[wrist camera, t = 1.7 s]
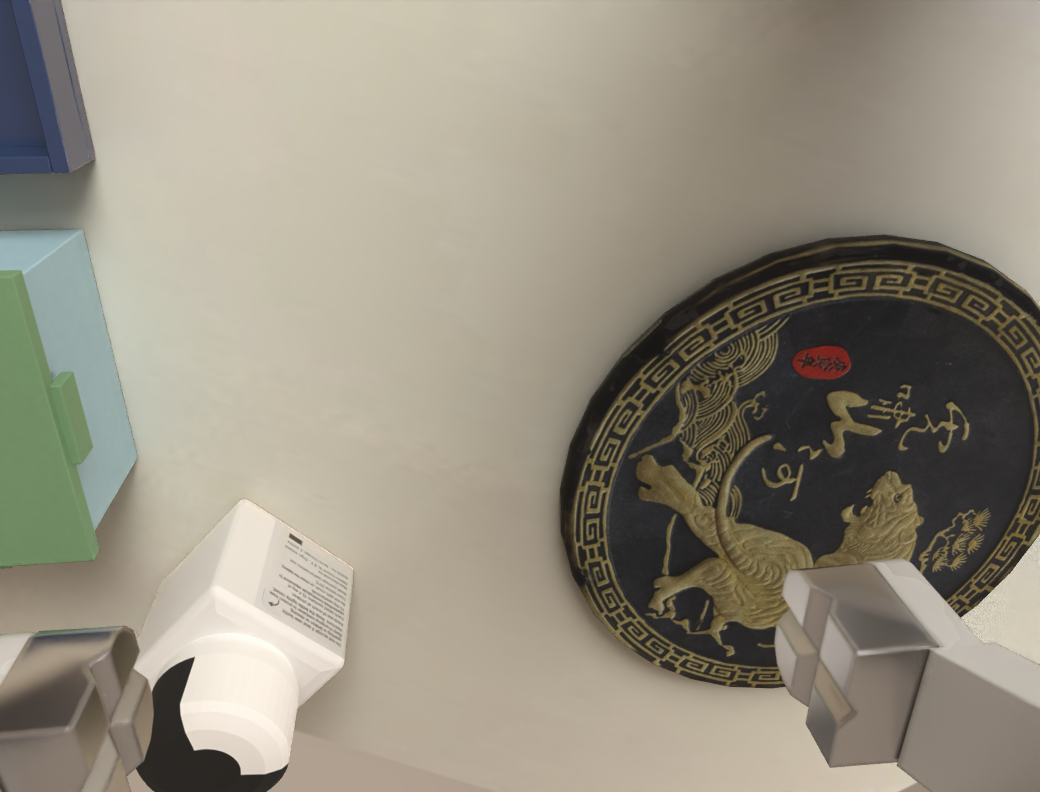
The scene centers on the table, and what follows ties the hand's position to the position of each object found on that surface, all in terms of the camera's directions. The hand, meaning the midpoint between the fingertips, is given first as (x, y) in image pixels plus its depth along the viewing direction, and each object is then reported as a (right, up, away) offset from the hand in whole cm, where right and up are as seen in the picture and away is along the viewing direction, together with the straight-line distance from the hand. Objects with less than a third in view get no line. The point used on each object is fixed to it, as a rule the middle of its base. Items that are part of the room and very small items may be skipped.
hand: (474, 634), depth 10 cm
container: (-14, -7, +36) cm, 39 cm away
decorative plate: (+18, -2, +37) cm, 41 cm away
